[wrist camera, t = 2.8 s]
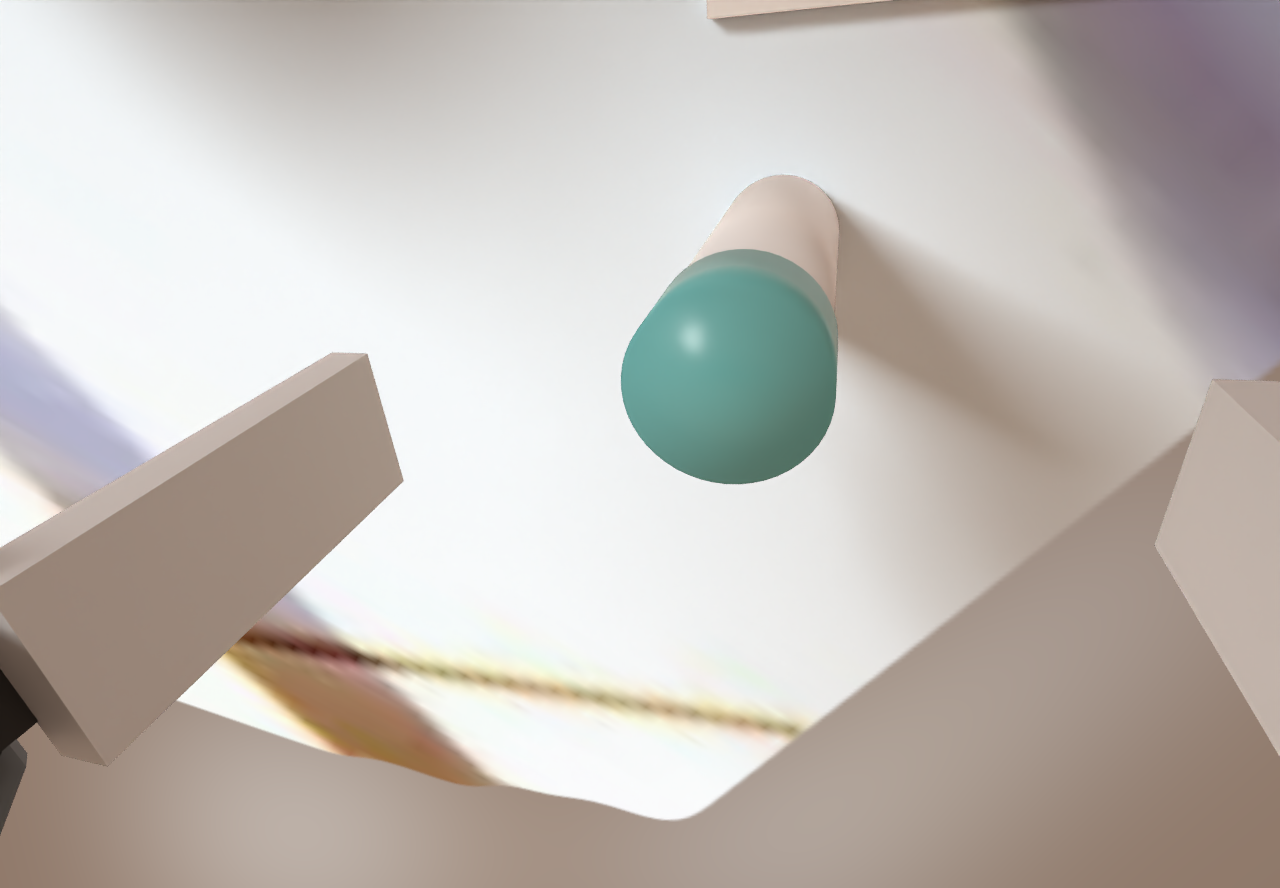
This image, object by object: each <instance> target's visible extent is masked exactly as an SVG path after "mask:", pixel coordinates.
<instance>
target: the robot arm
mask: <svg viewBox="0 0 1280 888" xmlns="http://www.w3.org/2000/svg"><path fill="white" fill-rule="evenodd" d="M402 482H403V477H402V474H401V470H400V467H399V463H398V460H397V456H396V453H395V449H394V446H393V442H392V439H391V435H390V432H389V428H388V425H387V421H386V418H385V414H384V411H383V407H382V404H381V400H380V397H379V393H378V390H377V386H376V383H375V379H374V376H373V372H372V369H371V365H370V362H369V358H368V355H367V354H364V353H330V354H329V355H327V356H325V357H324V358H322V359H320V360H319V361H317V362H315V363H313V364H312V365H310V366H308V367H307V368H305V369H303V370H302V371H300V372H298V373H296V374H295V375H293V376H291V377H290V378H288V379H286V380H285V381H283V382H281V383H279V384H278V385H276V386H274V387H273V388H271V389H269V390H268V391H266V392H264V393H262V394H261V395H259V396H257V397H256V398H254V399H252V400H251V401H249V402H247V403H245V404H244V405H242V406H240V407H239V408H237V409H235V410H234V411H232V412H230V413H228V414H227V415H225V416H223V417H222V418H220V419H218V420H217V421H215V422H213V423H211V424H210V425H208V426H206V427H205V428H203V429H201V430H200V431H198V432H196V433H194V434H193V435H191V436H189V437H188V438H186V439H184V440H183V441H181V442H179V443H177V444H176V445H174V446H172V447H171V448H169V449H167V450H166V451H164V452H162V453H160V454H159V455H157V456H155V457H154V458H152V459H150V460H149V461H147V462H145V463H143V464H142V465H140V466H138V467H137V468H135V469H133V470H132V471H130V472H128V473H127V474H125V475H123V476H121V477H120V478H118V479H116V480H115V481H113V482H111V483H110V484H108V485H106V486H104V487H103V488H101V489H99V490H98V491H96V492H94V493H93V494H91V495H89V496H87V497H86V498H84V499H82V500H81V501H79V502H77V503H76V504H74V505H72V506H70V507H69V508H67V509H65V510H64V511H62V512H60V513H59V514H57V515H55V516H53V517H52V518H50V519H48V520H47V521H45V522H43V523H42V524H40V525H38V526H36V527H35V528H33V529H31V530H30V531H28V532H26V533H25V534H23V535H21V536H19V537H18V538H16V539H14V540H13V541H11V542H9V543H8V544H6V545H4V546H2V547H1V548H0V834H1V832H2V829H3V826H4V824H5V821H6V818H7V816H8V813H9V810H10V808H11V805H12V803H13V800H14V797H15V795H16V792H17V789H18V787H19V784H20V781H21V779H22V776H23V773H24V771H25V768H26V761H27V752H26V751H25V750H24V748H23V747H22V746H21V745H20V743H19V742H18V741H17V738H18V737H20V736H21V735H22V734H23V733H25V732H26V731H27V730H28V729H29V728H31V727H32V726H33V725H34V724H35V723H38V724H39V726H40V727H41V728H42V730H43V731H44V732H45V734H46V735H47V737H48V738H49V739H50V740H51V742H52V743H53V744H54V746H55V747H56V749H57V750H58V751H59V753H60V754H61V755H62V756H66V757H70V758H75V759H79V760H82V761H87V762H91V763H95V764H99V765H103V766H109V765H110V763H112V762H113V761H114V760H115V758H117V757H118V756H119V755H120V754H121V753H122V752H123V751H124V750H125V749H126V748H127V747H128V746H129V745H130V744H131V743H132V742H133V741H134V740H136V739H137V738H138V737H139V736H140V735H141V733H143V732H144V731H145V730H146V729H147V728H148V727H149V726H150V725H151V724H152V723H153V722H154V721H155V720H156V719H157V718H158V717H159V716H160V715H161V714H162V713H164V712H165V710H167V709H168V707H170V706H171V705H172V704H173V703H174V702H175V701H176V700H177V699H178V698H179V697H180V696H181V695H182V694H183V693H184V692H185V691H186V690H187V689H188V688H189V687H190V686H192V685H193V684H194V683H195V682H196V681H197V680H198V679H199V678H200V677H201V676H202V675H203V674H204V673H205V672H206V671H207V670H208V669H209V668H210V667H211V666H212V665H213V664H214V663H215V662H216V661H217V660H218V659H220V658H221V657H222V656H223V655H224V654H225V653H226V652H227V651H228V650H229V649H230V648H231V647H232V646H233V645H234V644H235V643H236V642H237V641H238V640H239V639H240V638H241V637H242V636H243V635H244V634H245V633H246V632H247V631H249V630H250V629H251V628H252V627H253V626H254V625H255V624H256V623H257V622H258V621H259V620H260V619H261V618H262V617H263V616H264V615H265V614H266V613H267V612H268V611H269V610H270V609H271V608H272V607H273V606H274V605H275V604H277V603H278V602H279V601H280V600H281V599H282V598H283V597H284V596H285V595H286V594H287V593H288V592H289V591H290V590H291V589H292V588H293V587H294V586H295V585H296V584H297V583H298V582H299V581H300V580H301V579H302V578H303V577H304V576H306V575H307V574H308V573H309V572H310V571H311V570H312V569H313V568H314V567H315V566H316V565H317V564H318V563H319V562H320V561H321V560H322V559H323V558H324V557H325V556H326V555H327V554H328V553H329V552H330V551H331V550H332V549H334V548H335V547H336V546H337V545H338V544H339V543H340V542H341V541H342V540H343V539H344V538H345V537H346V536H347V535H348V534H349V533H350V532H351V531H352V530H353V529H354V528H355V527H356V526H357V525H358V524H359V523H360V522H362V521H363V520H364V519H365V518H366V517H367V516H368V515H369V514H370V513H371V512H372V511H373V510H374V509H375V508H376V507H377V506H378V505H379V504H380V503H381V502H382V501H383V500H384V499H385V498H386V497H387V496H388V495H389V494H391V493H392V492H393V491H394V490H395V489H396V488H397V487H398V486H399V485H400V484H401V483H402ZM1154 546H1155V547H1156V549H1157V551H1158V553H1159V554H1160V556H1161V558H1162V559H1163V561H1164V562H1165V564H1166V566H1167V568H1168V569H1169V571H1170V573H1171V574H1172V576H1173V578H1174V579H1175V581H1176V583H1177V585H1178V586H1179V588H1180V590H1181V591H1182V593H1183V595H1184V596H1185V598H1186V600H1187V601H1188V603H1189V605H1190V606H1191V608H1192V610H1193V611H1194V613H1195V615H1196V616H1197V618H1198V620H1199V621H1200V623H1201V625H1202V626H1203V628H1204V630H1205V632H1206V633H1207V635H1208V637H1209V638H1210V640H1211V642H1212V643H1213V645H1214V647H1215V649H1216V650H1217V652H1218V654H1219V655H1220V657H1221V659H1222V660H1223V662H1224V664H1225V665H1226V667H1227V668H1228V670H1229V672H1230V674H1231V675H1232V677H1233V679H1234V680H1235V682H1236V684H1237V686H1238V687H1239V689H1240V691H1241V692H1242V694H1243V696H1244V697H1245V699H1246V701H1247V702H1248V704H1249V706H1250V708H1251V709H1252V711H1253V713H1254V714H1255V716H1256V718H1257V719H1258V721H1259V723H1260V724H1261V726H1262V728H1263V729H1264V731H1265V733H1266V734H1267V736H1268V738H1269V739H1270V741H1271V743H1272V745H1273V746H1274V748H1275V750H1276V751H1277V753H1278V755H1279V756H1280V381H1254V380H1221V379H1212V381H1211V384H1210V387H1209V390H1208V393H1207V396H1206V399H1205V401H1204V404H1203V407H1202V410H1201V413H1200V416H1199V419H1198V422H1197V424H1196V427H1195V430H1194V433H1193V436H1192V439H1191V442H1190V445H1189V447H1188V450H1187V453H1186V456H1185V459H1184V462H1183V465H1182V468H1181V471H1180V473H1179V476H1178V479H1177V482H1176V485H1175V488H1174V491H1173V493H1172V496H1171V499H1170V502H1169V505H1168V508H1167V511H1166V513H1165V516H1164V519H1163V522H1162V525H1161V528H1160V531H1159V534H1158V537H1157V539H1156V542H1155V545H1154Z"/></svg>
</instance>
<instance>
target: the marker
mask: <svg viewBox="0 0 1280 888" xmlns="http://www.w3.org/2000/svg"><path fill="white" fill-rule="evenodd" d="M838 246H839V222H838V217H837V213H836V210H835V208H834V206H833V204H832V202H831V200H830V199H829V197H828V196H827V195H826V194H825V193H824V191H822V190H821V189H820V188H819V187H818V186H817V185H815V184H814V183H812V182H810V181H808V180H806V179H804V178H801V177H797V176H792V175H774V176H770V177H766V178H763V179H760V180H758V181H756V182H754V183H753V184H751V185H749V186H748V187H747V188H745V189H744V190H743V191H742V192H741V193H740V194H739V195H738V196H737V198H736V199H735V200H734V201H733V203H732V204H731V206H730V207H729V209H728V210H727V211H726V213H725V214H724V216H723V217H722V219H721V220H720V222H719V223H718V224H717V226H716V227H715V229H714V230H713V232H712V233H711V234H710V236H709V237H708V239H707V240H706V242H705V243H704V245H703V246H702V247H701V249H700V250H699V252H698V253H697V255H696V256H695V257H694V259H693V260H692V262H691V263H690V265H689V266H688V267H687V268H686V269H684V270H683V271H682V272H681V273H680V274H679V275H678V276H677V277H676V278H675V279H674V280H673V281H672V283H671V284H670V285H669V286H668V288H667V289H666V290H665V292H664V293H663V295H662V296H661V297H660V299H659V300H658V302H657V303H656V304H655V306H654V307H653V309H652V310H651V311H650V313H649V314H648V316H647V317H646V318H645V320H644V321H643V322H642V324H641V325H640V327H639V328H638V329H637V331H636V333H635V334H634V336H633V338H632V339H631V341H630V343H629V346H628V348H627V350H626V353H625V357H624V360H623V364H622V373H621V390H622V396H623V402H624V405H625V408H626V411H627V414H628V417H629V419H630V421H631V423H632V425H633V427H634V428H635V430H636V432H637V433H638V435H639V436H640V438H641V439H642V440H643V441H644V443H645V444H646V445H647V446H648V447H649V448H650V449H651V450H652V451H653V452H654V453H655V454H656V455H657V456H658V457H660V458H661V459H662V460H664V461H665V462H666V463H668V464H669V465H671V466H672V467H674V468H676V469H677V470H679V471H682V472H684V473H686V474H688V475H690V476H693V477H696V478H699V479H702V480H706V481H710V482H715V483H723V484H746V483H754V482H759V481H764V480H767V479H770V478H773V477H776V476H779V475H781V474H783V473H785V472H787V471H789V470H790V469H792V468H794V467H795V466H797V465H798V464H800V463H801V462H802V461H803V460H804V459H806V458H807V457H808V456H809V455H810V454H811V453H812V452H813V451H814V449H815V448H816V447H817V446H818V445H819V443H820V442H821V440H822V439H823V437H824V436H825V434H826V432H827V429H828V427H829V425H830V423H831V419H832V416H833V413H834V407H835V400H836V382H837V357H838V328H837V322H836V317H835V298H836V280H837V263H838Z"/></svg>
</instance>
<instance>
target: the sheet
mask: <svg viewBox="0 0 1280 888" xmlns="http://www.w3.org/2000/svg"><path fill="white" fill-rule="evenodd" d="M881 1H891V0H707V19H717V18H726V17H736V16H746V15H755V14H765V13H775V12H784V11H794V10H804V9H813V8H823V7H833V6H842V5H852V4H862V3H871V2H881Z"/></svg>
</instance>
